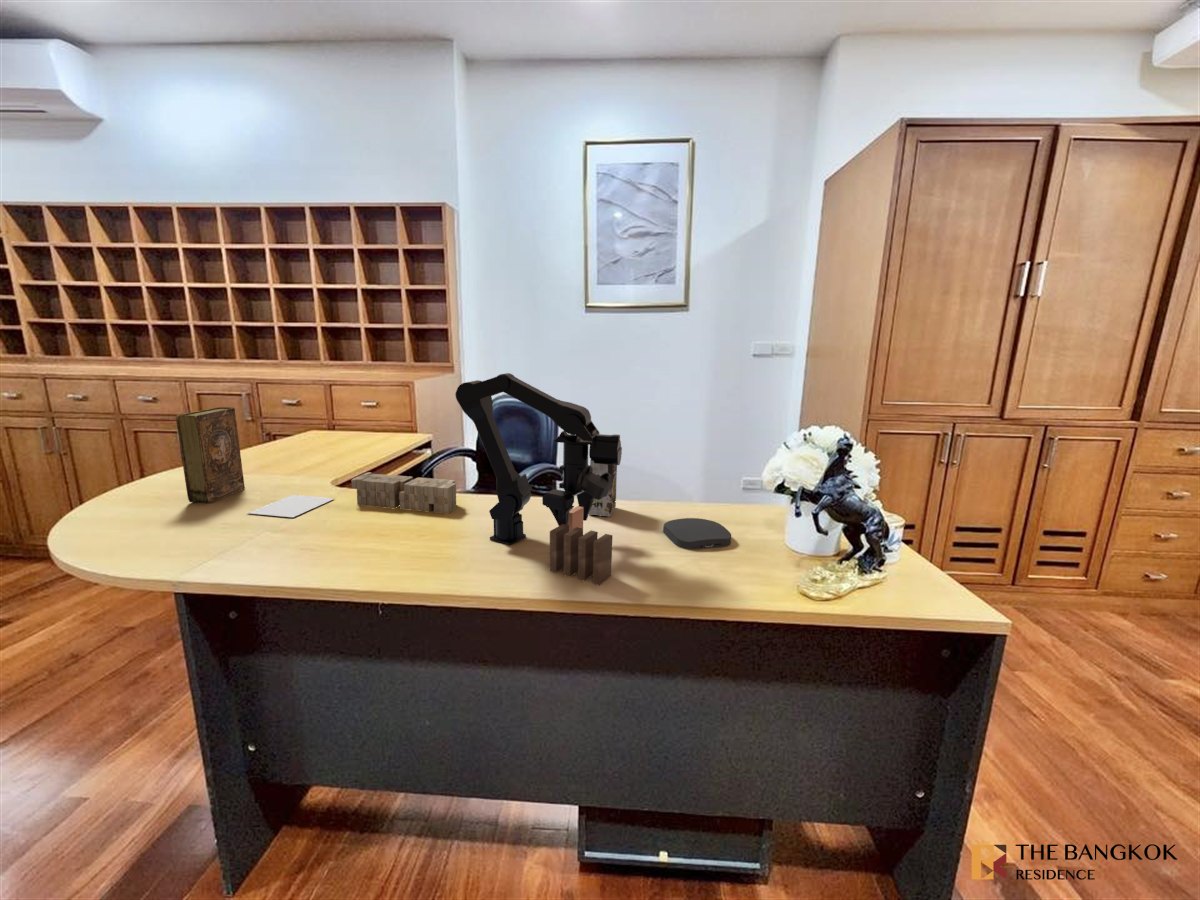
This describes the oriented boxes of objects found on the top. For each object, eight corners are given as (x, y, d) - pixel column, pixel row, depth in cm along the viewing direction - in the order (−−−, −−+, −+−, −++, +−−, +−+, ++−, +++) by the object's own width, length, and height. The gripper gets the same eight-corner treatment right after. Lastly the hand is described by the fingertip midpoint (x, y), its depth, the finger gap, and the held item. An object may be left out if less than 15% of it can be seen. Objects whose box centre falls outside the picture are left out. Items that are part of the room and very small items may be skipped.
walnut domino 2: (563, 575, 109) (563, 534, 107) (576, 566, 113) (576, 527, 111) (570, 576, 108) (570, 536, 106) (582, 568, 112) (583, 528, 111)
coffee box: (610, 517, 144) (612, 460, 140) (588, 515, 145) (589, 459, 141) (616, 507, 152) (618, 453, 149) (594, 505, 153) (596, 452, 150)
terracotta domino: (566, 548, 123) (566, 511, 121) (577, 541, 127) (577, 506, 125) (571, 549, 122) (572, 513, 120) (582, 542, 126) (583, 507, 124)
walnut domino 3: (577, 579, 107) (578, 538, 105) (590, 570, 112) (590, 530, 110) (584, 581, 107) (585, 539, 105) (596, 571, 111) (597, 531, 109)
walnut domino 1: (549, 571, 111) (549, 531, 109) (562, 562, 115) (562, 523, 113) (555, 572, 110) (556, 532, 108) (568, 564, 114) (569, 525, 112)
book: (230, 487, 162) (219, 406, 157) (247, 487, 162) (237, 407, 157) (188, 503, 146) (175, 415, 141) (208, 504, 146) (195, 415, 141)
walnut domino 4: (592, 583, 106) (593, 541, 104) (604, 573, 110) (605, 533, 108) (599, 585, 105) (600, 543, 103) (611, 575, 109) (612, 535, 107)
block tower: (460, 508, 151) (369, 497, 156) (460, 480, 149) (368, 470, 154) (447, 517, 144) (352, 505, 149) (447, 488, 142) (351, 476, 147)
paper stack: (364, 503, 151) (364, 500, 151) (302, 534, 127) (302, 531, 127) (293, 497, 155) (293, 494, 155) (219, 526, 131) (219, 523, 131)
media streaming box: (658, 529, 137) (659, 519, 136) (709, 526, 140) (710, 515, 140) (680, 552, 123) (681, 540, 122) (736, 547, 127) (737, 535, 126)
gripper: (585, 476, 108) (583, 546, 111) (625, 458, 124) (622, 520, 128) (541, 468, 113) (540, 535, 117) (584, 452, 129) (583, 512, 133)
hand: (574, 525), depth 123 cm, fingers open, 9 cm apart
